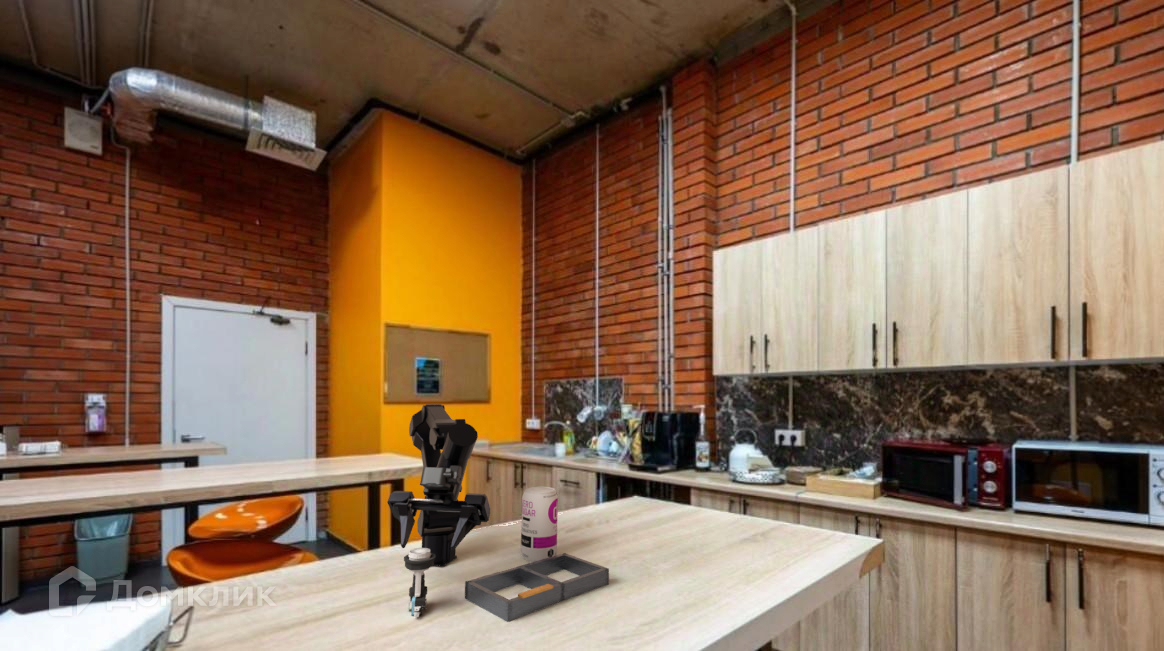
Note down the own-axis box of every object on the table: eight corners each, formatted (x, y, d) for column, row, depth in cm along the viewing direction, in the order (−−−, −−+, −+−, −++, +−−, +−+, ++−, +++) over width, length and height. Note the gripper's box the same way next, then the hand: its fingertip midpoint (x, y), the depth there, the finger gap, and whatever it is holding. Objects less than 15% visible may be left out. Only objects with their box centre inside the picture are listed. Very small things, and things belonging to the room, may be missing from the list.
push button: (432, 618, 93) (434, 557, 94) (399, 621, 91) (401, 559, 92) (433, 602, 99) (436, 545, 100) (402, 605, 98) (405, 547, 99)
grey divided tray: (464, 598, 101) (465, 579, 102) (564, 567, 119) (564, 551, 119) (508, 622, 92) (508, 600, 92) (609, 584, 109) (609, 566, 110)
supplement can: (561, 553, 128) (563, 487, 129) (548, 565, 120) (550, 494, 121) (529, 549, 130) (531, 485, 132) (514, 560, 123) (516, 491, 124)
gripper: (394, 448, 107) (364, 521, 95) (488, 451, 105) (470, 525, 93) (408, 482, 114) (381, 554, 102) (496, 485, 112) (481, 558, 100)
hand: (427, 548), depth 99 cm, fingers open, 9 cm apart
